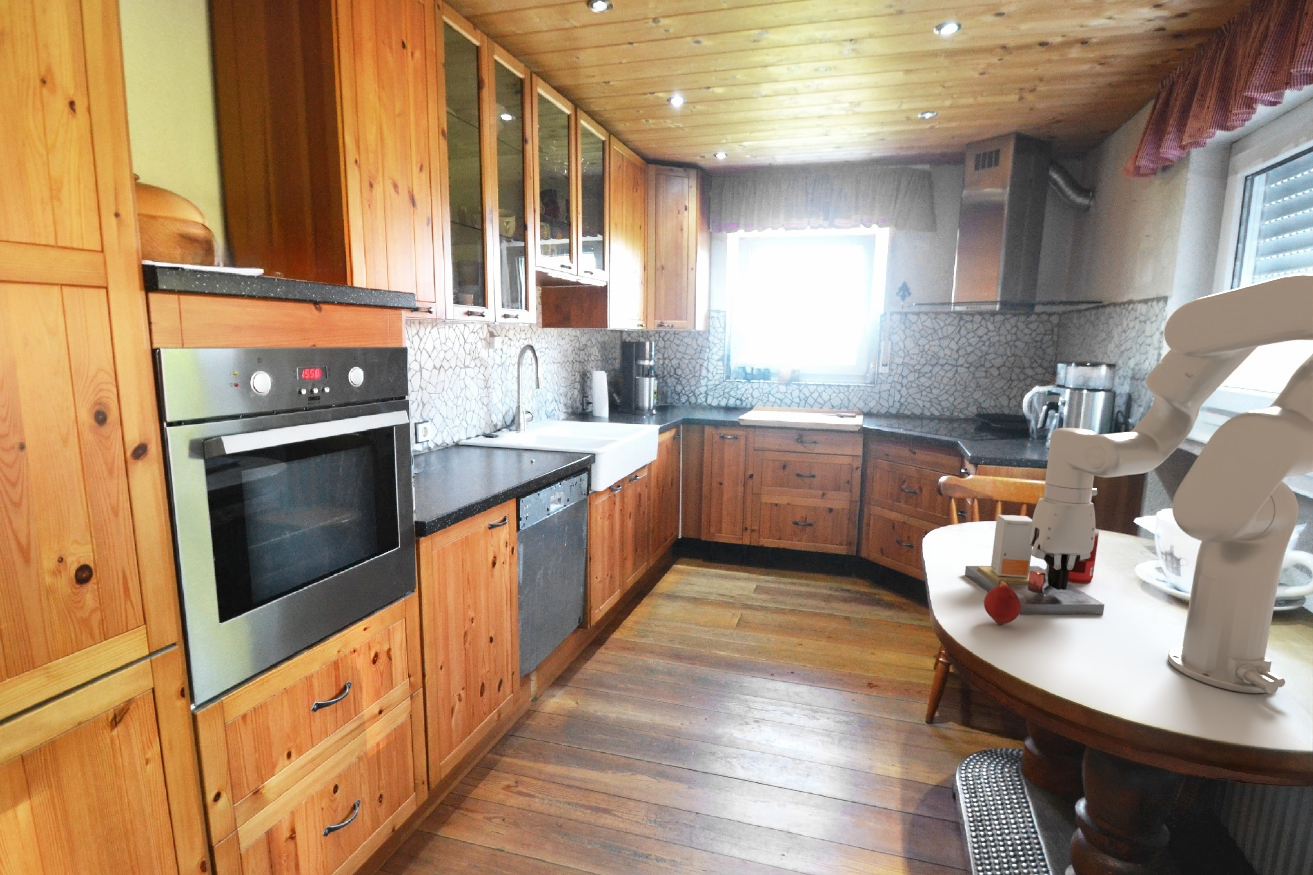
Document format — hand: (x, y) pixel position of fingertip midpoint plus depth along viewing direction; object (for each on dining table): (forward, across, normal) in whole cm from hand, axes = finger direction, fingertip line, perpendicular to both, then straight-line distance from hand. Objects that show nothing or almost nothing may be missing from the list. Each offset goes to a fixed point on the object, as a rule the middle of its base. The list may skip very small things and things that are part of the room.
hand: (1056, 587), depth 126 cm
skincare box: (+1, +4, -9) cm, 10 cm away
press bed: (+4, +2, -6) cm, 7 cm away
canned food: (+4, -13, -15) cm, 20 cm away
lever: (+1, +2, -2) cm, 3 cm away
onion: (+4, +15, +9) cm, 18 cm away
